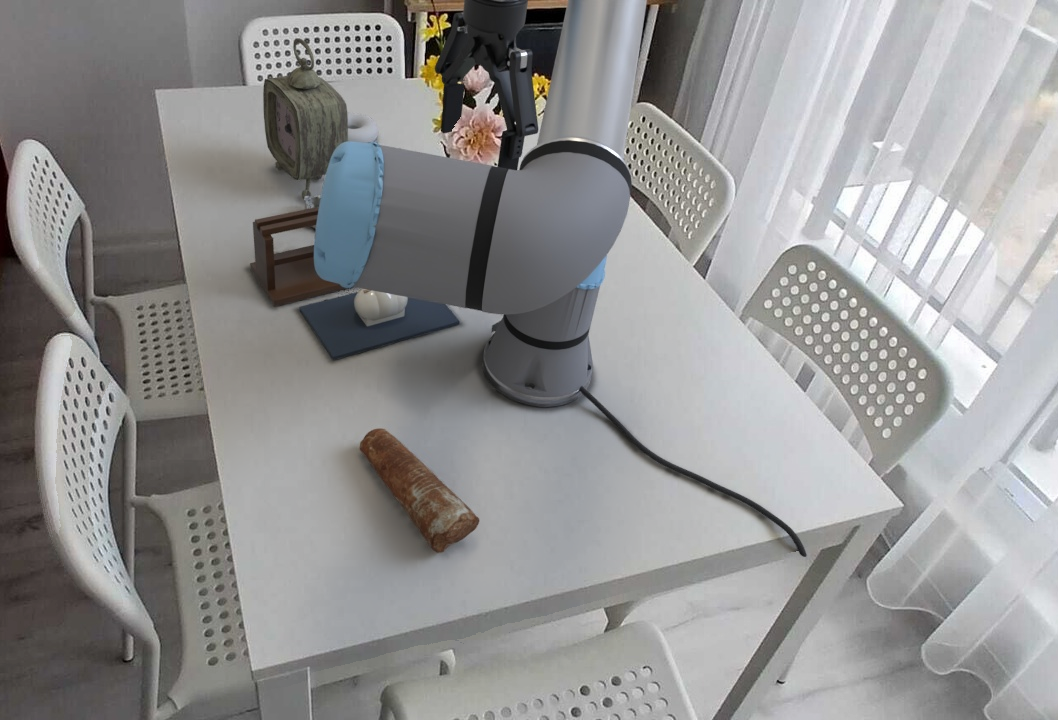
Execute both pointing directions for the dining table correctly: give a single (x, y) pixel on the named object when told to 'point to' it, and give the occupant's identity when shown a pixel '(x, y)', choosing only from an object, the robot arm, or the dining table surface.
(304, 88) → the tabletop clock
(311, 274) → the rack
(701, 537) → the dining table surface
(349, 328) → the mat
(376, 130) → the donut
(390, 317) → the white dome-topped canister
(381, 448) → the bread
